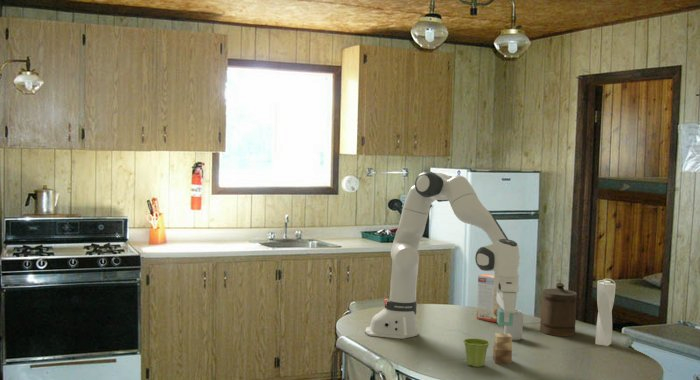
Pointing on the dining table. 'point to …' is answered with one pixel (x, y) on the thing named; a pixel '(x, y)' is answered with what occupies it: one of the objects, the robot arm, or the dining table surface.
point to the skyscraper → (604, 311)
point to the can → (515, 326)
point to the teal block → (501, 316)
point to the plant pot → (476, 351)
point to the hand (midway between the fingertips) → (504, 319)
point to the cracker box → (487, 298)
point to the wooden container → (558, 311)
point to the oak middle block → (503, 341)
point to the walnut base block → (502, 356)
